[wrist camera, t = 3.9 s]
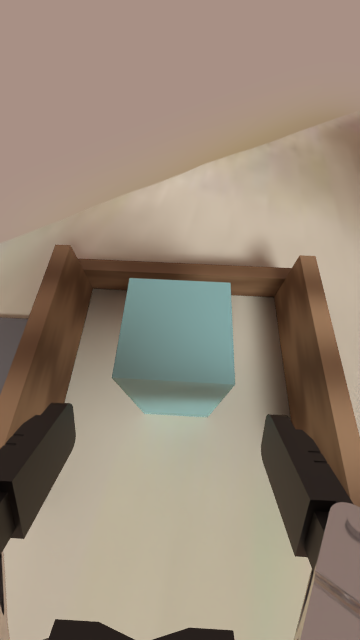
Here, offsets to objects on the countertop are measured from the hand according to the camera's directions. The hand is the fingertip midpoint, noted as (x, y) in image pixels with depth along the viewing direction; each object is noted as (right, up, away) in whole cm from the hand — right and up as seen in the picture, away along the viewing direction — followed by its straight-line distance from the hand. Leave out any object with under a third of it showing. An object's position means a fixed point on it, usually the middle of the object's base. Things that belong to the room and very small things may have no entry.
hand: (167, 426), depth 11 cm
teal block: (0, -1, +11) cm, 11 cm away
